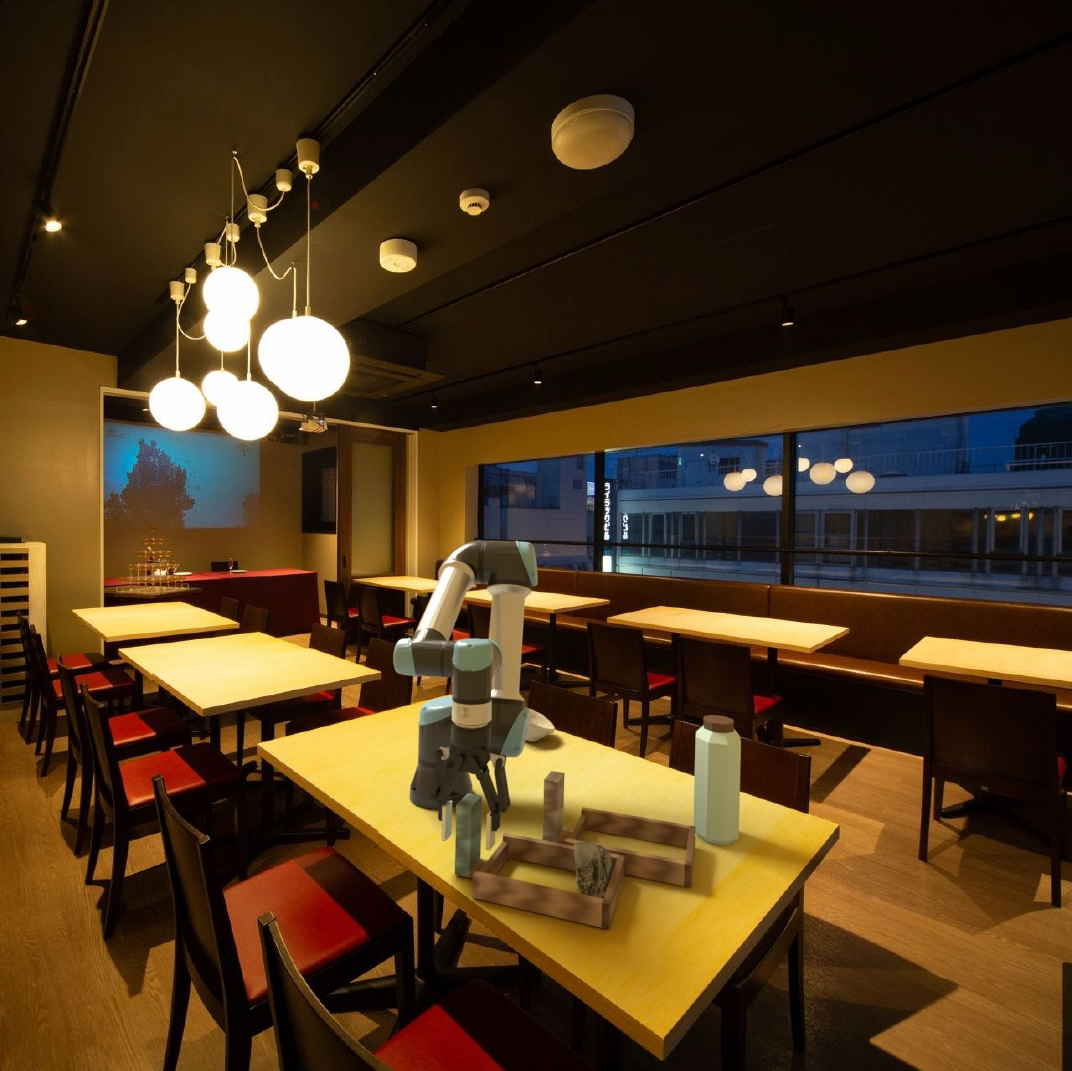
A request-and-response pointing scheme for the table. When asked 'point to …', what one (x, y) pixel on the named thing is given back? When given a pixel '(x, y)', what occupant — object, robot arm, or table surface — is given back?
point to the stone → (592, 868)
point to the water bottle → (717, 781)
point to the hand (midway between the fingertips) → (468, 841)
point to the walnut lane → (520, 891)
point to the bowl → (538, 726)
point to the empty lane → (625, 826)
